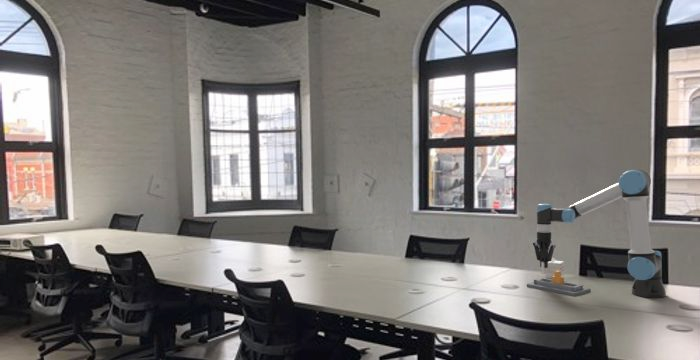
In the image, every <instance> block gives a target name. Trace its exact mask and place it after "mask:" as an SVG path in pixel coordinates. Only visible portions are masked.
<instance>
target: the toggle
mask: <svg viewBox="0 0 700 360" xmlns="http://www.w3.org/2000/svg"><path fill="white" fill-rule="evenodd" d="M554 273H555V276H552V283H556V284H561V285H564V282H565V276H564V277H563V276H561V271H558V270H557V271H554Z"/></svg>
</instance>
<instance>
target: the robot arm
mask: <svg viewBox="0 0 700 360" xmlns="http://www.w3.org/2000/svg"><path fill="white" fill-rule="evenodd" d="M651 183H652V179H651V176H650V174H649V173H648V172H646V171H645V170H641V169H630V170H629V169H628V170H626V171H625V172H623V173H622V174H621V175H620V177H619V179H618V182H617V183H615V184H613V185H610V186H609V187H607V188H605V189H602V190H600V191H598V192H596V193H594V194H592V195H590V196H588V197H586V198H584V199H581V200H580V201H577V202H575V203H574V204H570V205H568V206H567V207H563V208H559V207H558V208H555V207H552V204H550V203H539V204H537V206H536V231H537V232H536V241H535V242H533V243H532V245H533V248H534V250H535V251H534V252H535V256H536V257H535V258H536V260H537V261H539V265H540V266H539V267H540V268H541V269H540V270H541V274H543V275H545V274H546V273H547V268H548V262H549V261H551V259H552V258H553V254H554V250H555V248H556V244H554V243H552V222H554V223H555V222H556V223H557V222H558V223H565V224H568V223H569V224H570V223H574V221H575V220H577V218H579V217H582V216H584V215H586V214H588V213H590V212H592V211H594V210H597V209H599V208H602V207H604V206H605V205H609V204H610V203H613V202H614V201H616V200H619V199H621V198H622V199H623V200H624V201H625V203H626V204H625V205H626V212H627V213H626V214H627V222H628V223H627V224H628V231H629V232H628V233H629V241H630V242H629V243H630V249H629V250H628V251H627V255H628V261H627V265H626V266H627V271H628V272H627V273H629V275H630V276H631V277H632V278H634V280H633V281H634V282H633V284H632V286H631V294H633V295H635V296H638V297H643V298H654V299H659V298H665V297H666V296H667V291H666V289H665V286H664V284H663V283H664V282H663V279H662V278H663V277H662V275H663V274H662V271H663V269H662V266H663V265H662V259H663V257H662V256H663V255H662V252H661V251H659V250H654V249H652V246H651V245H652V244H651V237H650V235H651V234H650V226H649V217H648V208H647V200H648V198H649V197H650V194H649V193H650V192H649V191H650V190H649V188H650V186H651ZM552 260H553V259H552Z"/></svg>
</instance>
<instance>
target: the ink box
mask: <svg viewBox="0 0 700 360" xmlns="http://www.w3.org/2000/svg"><path fill="white" fill-rule="evenodd" d="M564 265H565V261H563V260H557V259H556V258H555V257H552V259H551V261H549V262H548V268H547V273H546V274H544V275H545V277H544V278H546V279H552V276H555V273H554V271H557V270H558V271H561V276H563V277H564V278H565V268H564V267H565V266H564Z"/></svg>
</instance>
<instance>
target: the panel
mask: <svg viewBox="0 0 700 360" xmlns="http://www.w3.org/2000/svg"><path fill="white" fill-rule="evenodd" d="M526 287H527V288H532V289H537V290H543V291H547V292H552V293H556V294H561V295H567V296H571V297H577V296H579V295H583V294H586V293H589V292H591V291H592V290H591V288H589V287H585V286H584V285H583V284H578V283H574V282H573V283H572V282H568V281H567V282H566V281H564V285H561V284H556V283H552V279H546V278H545V277H541V278H538V279H537V278H536V279H533V282H529V283H526Z"/></svg>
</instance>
